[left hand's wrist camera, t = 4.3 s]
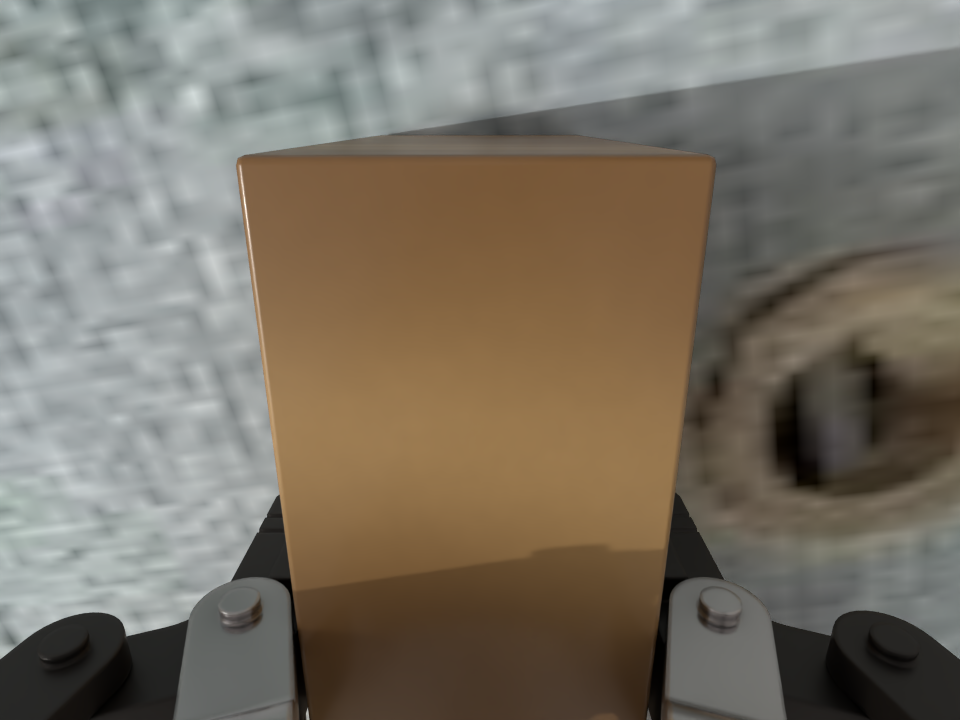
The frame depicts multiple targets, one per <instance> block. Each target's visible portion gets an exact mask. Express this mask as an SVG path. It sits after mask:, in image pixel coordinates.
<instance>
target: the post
mask: <svg viewBox="0 0 960 720" xmlns="http://www.w3.org/2000/svg"><path fill="white" fill-rule="evenodd" d="M236 169H237V176H238V184H239V191H240V199H241V206H242V214H243V221H244V229H245V236H246V244H247V251H248V259H249V267H250V274H251V282H252V289H253V297H254V304H255V312H256V319H257V327H258V334H259V342H260V349H261V357H262V365H263V372H264V380H265V387H266V395H267V402H268V410H269V417H270V425H271V432H272V440H273V447H274V455H275V463H276V470H277V478H278V485H279V493H280V500H281V508H282V515H283V523H284V530H285V538H286V545H287V553H288V560H289V568H290V576H291V583H292V591H293V598H294V606H295V613H296V621H297V628H298V636H299V643H300V651H301V658H302V666H303V674H304V681H305V689H306V696H307V704H308V711H309V719H310V720H646V719H647V711H648V703H649V695H650V687H651V679H652V671H653V663H654V655H655V647H656V639H657V631H658V623H659V616H660V608H661V600H662V592H663V584H664V576H665V568H666V560H667V552H668V544H669V536H670V528H671V520H672V512H673V505H674V497H675V489H676V481H677V473H678V465H679V457H680V449H681V441H682V433H683V425H684V417H685V409H686V402H687V394H688V386H689V378H690V370H691V362H692V354H693V346H694V338H695V330H696V322H697V314H698V306H699V298H700V291H701V283H702V275H703V267H704V259H705V251H706V243H707V235H708V227H709V219H710V211H711V203H712V195H713V188H714V180H715V172H716V162H715V158H714V157H712V156H710V155H708V154H701V153H694V152H687V151H681V150H674V149H667V148H660V147H653V146H647V145H640V144H633V143H626V142H619V141H613V140H606V139H599V138H592V137H585V136H579V135H380V136H373V137H366V138H359V139H352V140H345V141H339V142H332V143H325V144H318V145H311V146H304V147H297V148H290V149H283V150H276V151H270V152H263V153H256V154H249V155H244V156H242V157H240V158H238V160H237V164H236Z"/></svg>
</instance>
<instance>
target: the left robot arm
mask: <svg viewBox="0 0 960 720" xmlns="http://www.w3.org/2000/svg"><path fill="white" fill-rule="evenodd" d="M307 708H308V704H307V696H306V689H305V681H304V674H303V666H302V658H301V651H300V643H299V636H298V628H297V621H296V613H295V606H294V598H293V591H292V583H291V576H290V568H289V560H288V553H287V545H286V538H285V530H284V523H283V515H282V508H281V500H280V495H278V496H277V497H276V499H275V501H274V503H273V504H272V506H271V508H270V510H269V512H268V514H267V518H265V519H264V521H263V523H262V525H261V527H260V529H259V533H257V534H256V536H255V538H254V540H253V542H252V543H251V545H250V547H249V549H248V551H247V553H246V555H245V556H244V558H243V560H242V562H241V564H240V566H239V568H238V569H237V571H236V573H235V575H234V577H233V579H232V580H231V582H229V583H226V584H224V585H221V586H219V587H217V588H216V589H214V590H212V591H211V592H209V593H208V594H207V595H205V596H204V597H203V598H202V599H201V600H200V601H199V602H198V603H197V604H196V606H195V607H194V608H193V610H192V612H191V614H190V617H189V620H187V621H184V622H181V623H179V624H176V625H172V626H169V627H165V628H161V629H157V630H152V631H148V632H144V633H140V634H135V635H131V636H127V637H126V633H125V629H124V626H123V623H122V622H121V621H120V620H119V619H118V618H116V617H115V616H113V615H110V614H106V613H83V614H78V615H74V616H70V617H67V618H64V619H61V620H59V621H56V622H54V623H52V624H50V625H48V626H46V627H44V628H42V629H40V630H39V631H37V632H35V633H34V634H32V635H31V636H30V637H28V638H27V639H25V640H24V641H23V642H22V643H20V644H19V645H18V646H17V647H15V648H14V649H13V650H12V651H10V652H9V653H8V654H7V655H5V656H4V657H3V658H2V659H0V720H307V719H306V711H307ZM648 708H649V712H650V715H651V719H652V720H960V659H958V658H957V657H956V656H955V655H953V654H952V653H951V652H950V651H948V650H947V649H946V648H945V647H943V646H942V645H941V644H940V643H938V642H937V641H936V640H935V639H933V638H932V637H931V636H929V635H928V634H927V633H925V632H924V631H922V630H921V629H919V628H917V627H916V626H914V625H912V624H910V623H908V622H906V621H904V620H901V619H899V618H896V617H894V616H890V615H887V614H884V613H879V612H873V611H853V612H848V613H846V614H843V615H842V616H840V617H839V618H838V619H837V620H836V621H835V624H834V626H833V630H832V634H831V636H828V635H824V634H820V633H816V632H811V631H807V630H803V629H798V628H794V627H790V626H786V625H783V624H779V623H776V622H774V621H771V617H770V614H769V612H768V610H767V608H766V607H765V606H764V604H763V603H762V602H761V601H760V600H759V599H758V598H757V597H756V596H755V595H753V594H752V593H751V592H749V591H748V590H746V589H744V588H743V587H741V586H739V585H736V584H734V583H731V582H729V581H726V580H724V579H723V577H722V575H721V573H720V571H719V569H718V567H717V565H716V563H715V562H714V560H713V558H712V556H711V554H710V552H709V550H708V548H707V547H706V545H705V543H704V541H703V539H702V537H701V535H700V533H699V532H697V528H696V526H695V524H694V522H693V520H692V518H691V517H689V513H688V511H687V509H686V507H685V505H684V503H683V501H682V499H681V498H680V496H679V495H678V494H676V493H675V497H674V505H673V512H672V520H671V528H670V536H669V544H668V552H667V560H666V568H665V576H664V584H663V592H662V600H661V608H660V616H659V623H658V631H657V639H656V647H655V655H654V663H653V671H652V679H651V687H650V695H649V703H648Z"/></svg>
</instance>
